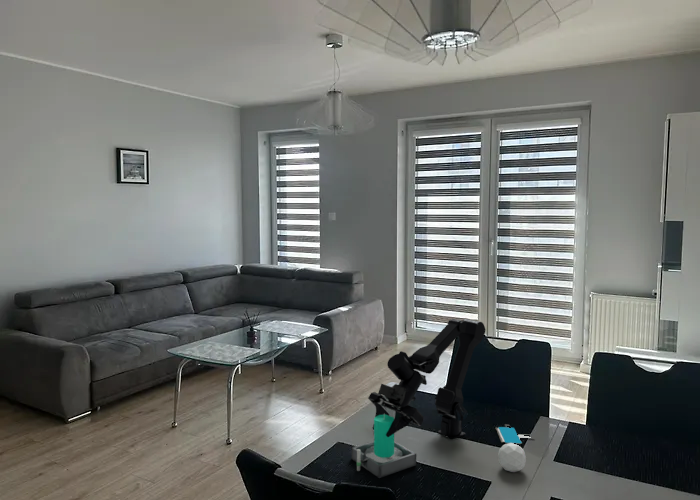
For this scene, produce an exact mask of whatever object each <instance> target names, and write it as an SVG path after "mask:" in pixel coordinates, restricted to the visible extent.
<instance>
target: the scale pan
mask: <svg viewBox="0 0 700 500" xmlns="http://www.w3.org/2000/svg"><path fill="white" fill-rule="evenodd" d="M369 457H370V458H371V459H373V460H374V461H376V462H378V463H379V464H382V463H385V462H388V461H391V460H394V459H397V458H400V457H402V452H401V450H400V449H398V448H396V447H394V454H393V456H390V457H378V456H377V455H375V454H374V446H371V447H369V448H368V449H366V451H365V458H366V459H364V460H361V463H365V462H367V458H369Z"/></svg>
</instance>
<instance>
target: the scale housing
mask: <svg viewBox="0 0 700 500" xmlns="http://www.w3.org/2000/svg"><path fill="white" fill-rule="evenodd" d="M371 446H374V440H372V441H370V442H365V443H362V444H359V445H355V446H352V447H351V460H353V462H355V463H356V472H360V471H361V467H362V468H364V469H365V470H366V471H369V472H370V473H371V474H372V475H374V476H376V477H377V478H379V479H380V478H384V477H387V476H389V475H392V474H395V473H397V472H401V471H404V470H406V469H409V468H412V467H416V466H417V453H416V452H414V451H412V450H411V449H409V448H407V447H406V446H404V445H402V444H400V443H399V442H398V441H395V440H394V447H396V448H398V449H400V450H401V452H402V457H400V458H397V459H394V460H391V461H388V462H385V463H382V464H379V463H378V462H376V461H374V460H373V459H371V458H370V457H369V458H367V462H365V463H361V460H364V459H366V458H365V451H366V449H368V448H369V447H371Z"/></svg>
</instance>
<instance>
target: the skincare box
mask: <svg viewBox="0 0 700 500" xmlns="http://www.w3.org/2000/svg"><path fill="white" fill-rule="evenodd" d="M399 383H400V382H393V381H390V382H388V383H386V384H385V385H387V386H390V387H393V386H394V385H395V384H397V385H398V384H399ZM382 396H383V397H384V398H385V396H384V395H382ZM385 399H386V398H385ZM386 400H387V401H389V400H388V399H386ZM392 407H393V406H392ZM387 412H388V413H389V416H391V417H394V419H395V412H396V411H393V410H391V409H389V408H387Z"/></svg>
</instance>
